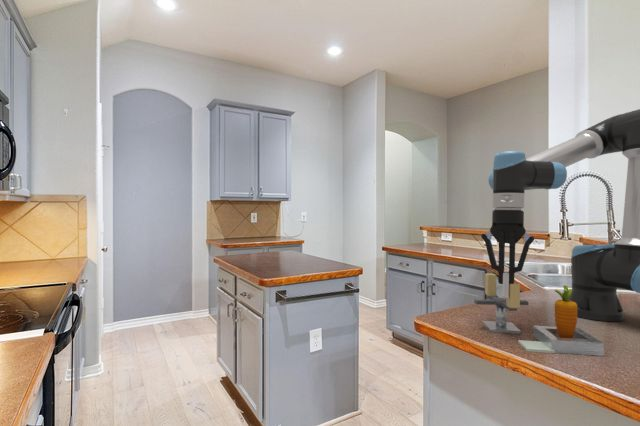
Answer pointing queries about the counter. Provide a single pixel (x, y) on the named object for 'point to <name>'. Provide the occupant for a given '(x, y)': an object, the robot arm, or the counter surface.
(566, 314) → the carrot
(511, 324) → the square base pedestal
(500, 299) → the handwheel
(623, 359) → the counter surface
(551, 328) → the gray square frame
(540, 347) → the pad
